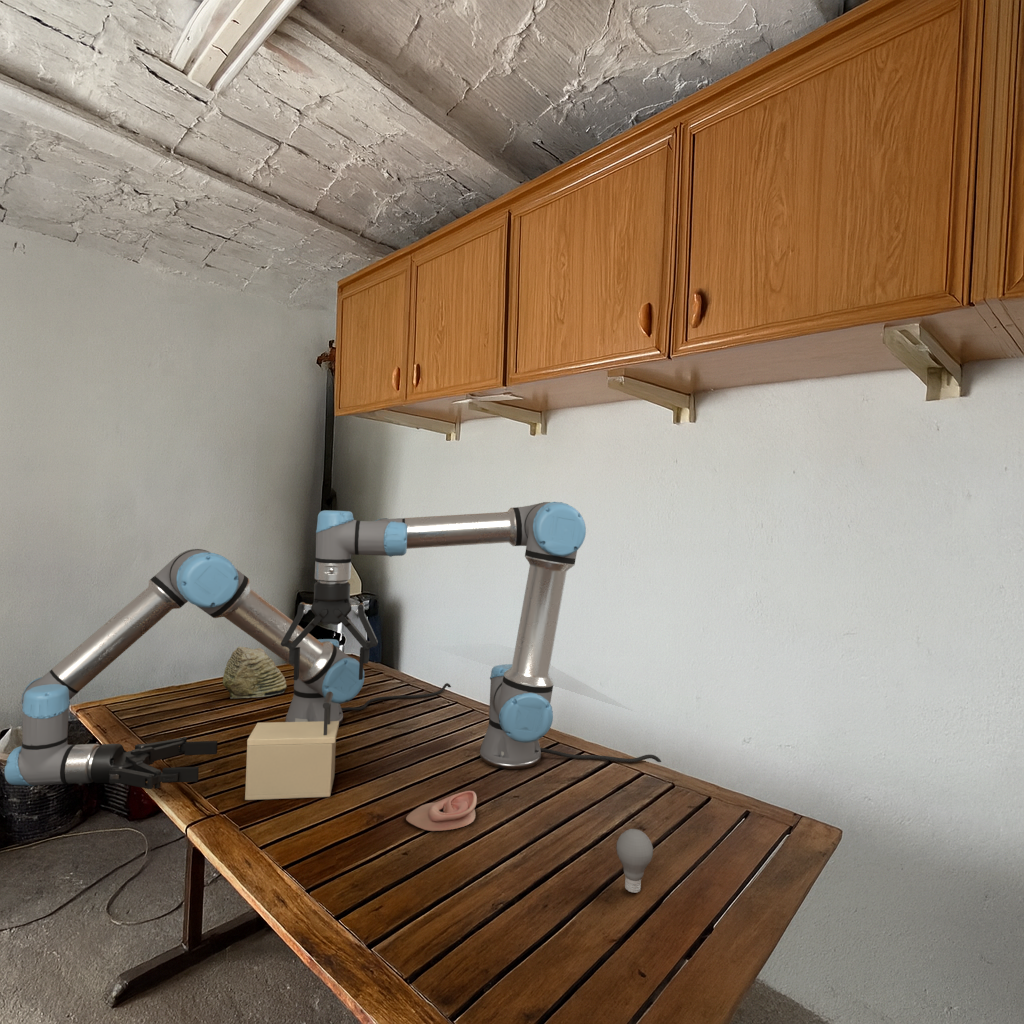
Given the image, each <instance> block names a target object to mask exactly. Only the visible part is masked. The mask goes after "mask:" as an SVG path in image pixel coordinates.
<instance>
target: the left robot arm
mask: <svg viewBox="0 0 1024 1024" xmlns="http://www.w3.org/2000/svg"><path fill="white" fill-rule="evenodd" d="M250 586H251V585H250V578H249V577H247V576H246V575H245V574H244V573H243V572H241V571H240V570H239V569H237V568H236V566H235V565H234V564H233V563H232V561H231V560H229V559H228V558H227V557H225V556H223V555H222V554H218V553H215V552H211V551H209V550H206V549H201V548H193V549H192V548H191V549H187V550H185V551H183V552H180V553H179V554H178V555H176V556H174V557H173V558H172V559H171V560H170V561H169V562H168V563H166V565H164V566H163V567H162V568H161V569H160V570H159V571H158V572H156V574H155V575H153V576H152V577H151V578H150V579H149V580H148V586H147V587H145V589H144V590H143V591H141V592H140V593H139V594H138V595H137V596H136V597H135V598H133V599H132V600H131V601H129V602H128V604H127V605H125V606H124V607H122V609H120V610H119V611H118V612H117V613H115V615H114V616H112V617H111V618H110V619H109V620H107V622H105V623H104V624H103V625H102V626H100V627H99V628H98V629H97V630H96V631H94V632H93V634H91V635H90V636H89V637H87V638H86V639H85V640H84V641H83V642H82V643H81V644H79V645H78V646H77V647H76V648H75V649H73V650H72V651H71V652H70V653H69V654H68V655H66V656H65V657H64V658H63V659H62V660H60V662H58V663H57V664H56V665H55V666H53V667H52V668H51V669H50V670H49V671H48V672H46V673H45V674H44V675H43V676H40V677H37V678H35V679H33V680H32V681H30V682H29V683H28V684H27V685H26V687H24V691H23V692H22V695H21V705H22V707H21V708H22V709H21V710H22V742H21V745H20V746H17V747H15V748H14V749H13V750H12V751H10V753H9V755H8V757H7V758H6V765H5V766H4V778H5V780H6V782H7V783H8V784H10V785H11V786H29V787H38V786H50V785H51V786H52V785H76V784H77V785H78V786H83V785H85V784H93V783H95V784H121V785H127V786H132V787H136V788H141V789H146V790H152V789H155V790H157V789H160V788H161V787H162V786H161V785H162V784H171V783H174V784H175V783H197V782H199V775H200V773H199V771H200V767H199V766H180V767H179V766H177V767H176V766H175V767H163V768H162V770H161V769H158V768H156V767H154V766H152V765H153V764H154V763H155V762H156V761H160V760H164V759H168V758H171V757H174V756H179V755H184V756H202V755H203V756H204V755H205V756H206V755H217V754H218V740H205V741H204V740H202V741H201V740H197V741H196V740H195V741H188V740H187V739H188V738H187V736H183V737H179V738H173V739H167V740H162V741H156V742H155V741H154V742H150V743H137V744H135V745H134V749H132V750H128V751H126V750H125V748H124V746H123V744H121V743H102V744H99V743H87V744H86V743H85V744H84V743H82V744H68V741H69V740H68V739H69V735H68V732H69V717H70V715H69V713H70V705H71V700H72V699H73V698H74V697H75V696H76V695H77V694H78V693H80V691H81V690H82V689H83V688H85V687H86V686H87V685H88V684H89V683H90V682H92V681H93V680H94V679H95V678H96V677H98V675H99V674H101V673H102V672H103V671H104V670H105V669H106V668H107V667H109V666H110V665H111V664H112V663H113V662H114V661H116V660H117V658H119V657H120V656H121V655H122V654H124V653H125V652H126V651H127V650H128V649H129V648H130V647H131V646H132V645H134V644H135V643H136V642H137V641H138V640H139V639H140V638H142V637H143V636H144V635H145V634H146V633H147V632H148V631H149V630H151V629H152V628H153V627H154V626H155V625H156V624H157V623H158V622H160V621H161V620H162V619H163V618H165V616H167V615H168V614H169V613H170V612H171V611H172V610H178V609H181V608H183V606H184V605H185V604H187V603H190V604H192V605H194V606H195V607H197V608H199V609H200V610H201V611H203V612H204V613H206V615H208V616H210V617H211V618H213V619H218V618H225V619H226V620H227V621H229V622H230V623H231V624H233V625H234V626H236V627H237V628H239V629H240V630H242V631H243V632H244V633H246V634H247V635H248V636H249V637H251V638H252V639H254V640H255V641H256V642H257V643H259V644H261V645H262V646H264V647H265V648H266V649H268V650H269V651H270V652H272V653H273V654H274V655H276V656H277V657H279V658H280V659H281V660H283V662H285V663H287V664H288V665H290V666H291V667H293V668H294V664H290V663H289V648H287V647H285V646H284V647H283V646H281V642H282V640H283V638H284V636H285V634H286V633H287V631H288V629H289V627H290V626H291V624H292V622H293V619H291V618H290V617H289V616H287V615H286V614H285V613H283V612H282V611H281V610H279V609H278V608H277V607H276V606H275V605H273V604H271V603H270V602H269V601H268V600H266V599H265V598H264V597H263V596H261V595H260V594H258V593H257V592H256V591H254V590H253V589H252V588H251V587H250ZM304 629H305V628H303V627H302V626H301V625H299V624H298V626H297V627H296V629H295V631H294V633H293V634H292V636H291V638H290V641H294V640H295V638H296V637H297V636H298V635H299V634H300V633H301V632H302V631H303V630H304ZM296 647H300V665H299V678H298V680H294V679H293V695H292V696H293V697H292V699H291V702H290V704H289V708H288V711H287V713H286V715H285V722H317V721H324V708H323V703H324V700H325V697H326V694H327V693H328V692H332V693H333V697H332V701H331V714H330V721H339V726H340V725H342V723H343V722H344V714H343V712H346V711H361V710H362V711H363V710H364V709H367V707H368V705H369V704H371V703H373V702H377V701H378V702H379V701H383V700H384V701H385V700H394V699H395V700H396V699H419V698H429V697H433V696H437V695H440V694H442V693H443V692H444V691H445V689H446V688H451V687H452V685H451V684H450V683H448V682H445V683H444V685H443V686H442V687H441V688H440V689H439V690H438V691H434V692H431V693H430V692H429V693H423V694H412V695H411V694H410V695H409V694H408V695H407V694H405V695H402V694H401V695H400V694H399V695H388V696H379V697H373V698H371V699H368V700H367V701H365V703H364V704H363V705H361V706H357V707H354V706H353V707H352V706H350V707H349V706H348V707H347V706H346V707H342V706H341V704H344V703H347V702H350V701H351V700H353V699H355V698H356V696H358V694H359V693H360V691H361V690H362V688H363V686H364V683H365V670H364V668H363V678H362V680H359V660H357V659H356V658H354V657H351V656H349V655H348V654H347V653H346V652H344V651H343V650H341V649H340V647H341V646H340V642H339V640H338V639H334V638H323V639H322V638H319V639H317V638H316V637H314V636H313V635H312V634H311V633H310V632H309V633H308V634H307V636H306V637H305V638H304V639H303V640H302V641H301V642H300V643H299V644H298V645H297V646H296Z"/></svg>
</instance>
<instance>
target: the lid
mask: <svg viewBox="0 0 1024 1024" xmlns="http://www.w3.org/2000/svg"><path fill="white" fill-rule="evenodd" d="M332 697H333V693H332V692H328V693H327V694H326V697H325V700H324V703H323V708H324V721H317V722H286V721H275V722H273V721H272V722H271V721H270V722H257V723H256V725H255V726H254V728H253V729H252V731H251V733H250V734H249V736H248V738H247V740H246V745H285V744H324V743H335V740H336V741H337V736H338V732H339V726H340V725H339V721H330V714H331V701H332Z"/></svg>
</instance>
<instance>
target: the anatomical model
mask: <svg viewBox="0 0 1024 1024" xmlns="http://www.w3.org/2000/svg"><path fill="white" fill-rule="evenodd" d="M477 803H478V798H477V793H476V792H475V791H473V790H465V791H461V792H458V793H455V794H452V795H450V796H447V797H445V798H443V799H441V800H438V801H436V802H429V803H425V804H422V805H420V806H418V807H416V808H415V809H413V810H412V811H410V813H408V814H407V816H406V817H405V821H406V822H408V823H409V824H410V825H412V826H414V827H416V828H418V829H422V830H425V831H428V832H429V831H430V832H440V831H450V830H456V829H459V828H463V827H466V826H468V825H470V824H472V823H473V822H474V821H475V819H476V810H475V809H476V806H477Z"/></svg>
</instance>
